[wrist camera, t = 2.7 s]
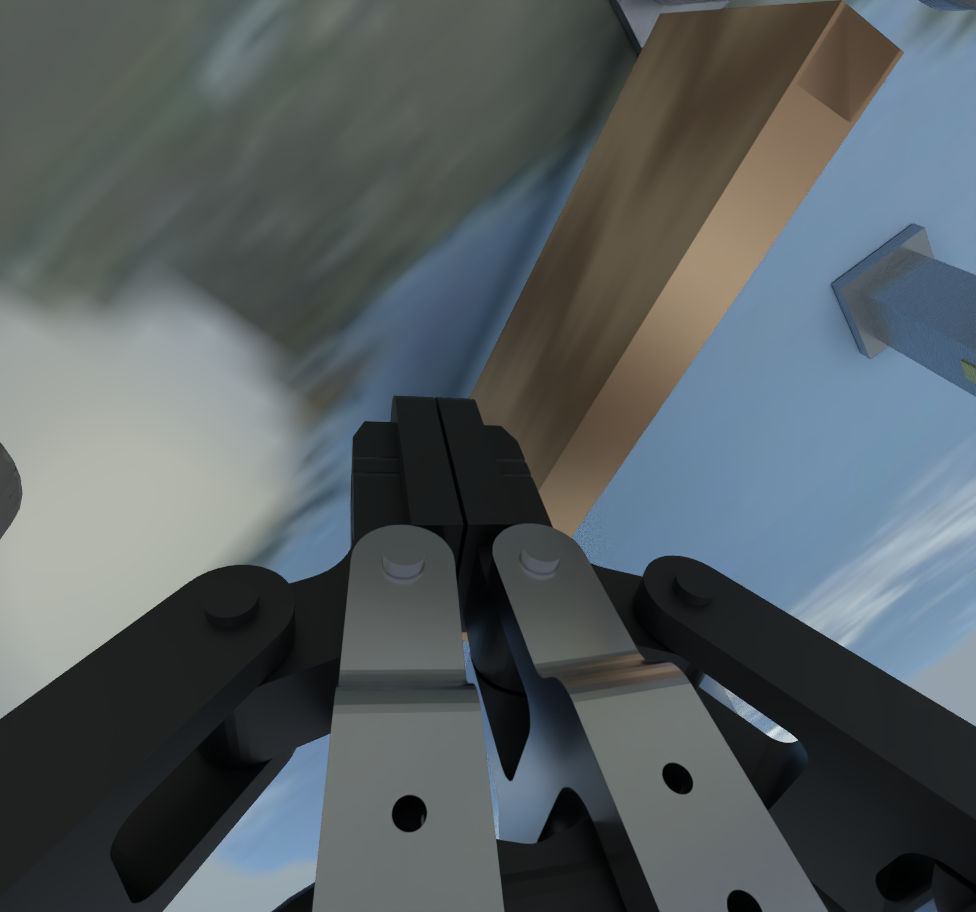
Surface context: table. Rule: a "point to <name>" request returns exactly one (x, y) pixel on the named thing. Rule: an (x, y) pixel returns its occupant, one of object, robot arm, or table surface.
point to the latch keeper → (913, 307)
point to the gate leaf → (670, 228)
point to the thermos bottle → (8, 490)
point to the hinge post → (643, 4)
